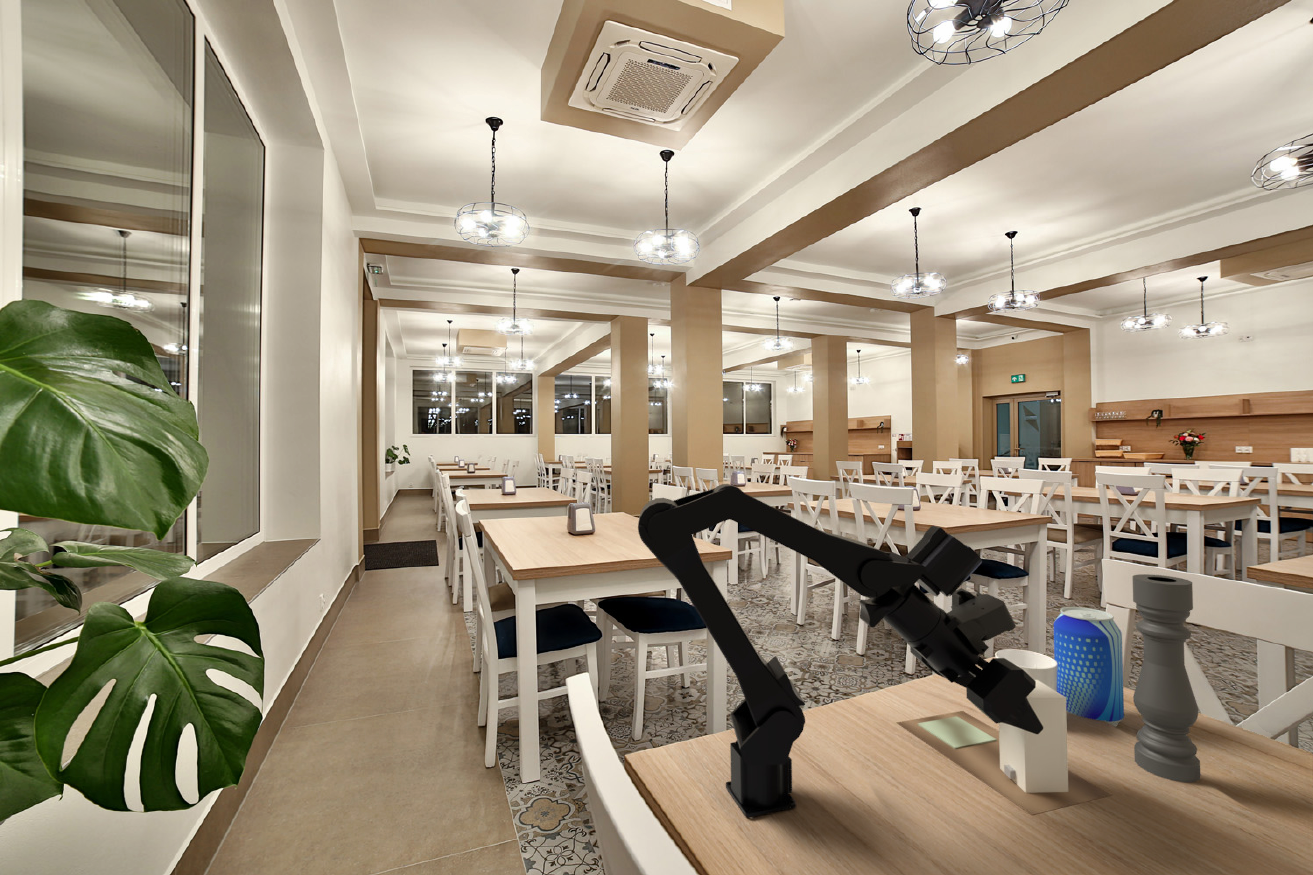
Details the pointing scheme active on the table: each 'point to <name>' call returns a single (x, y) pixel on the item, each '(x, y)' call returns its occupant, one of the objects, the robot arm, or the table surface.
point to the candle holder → (1165, 679)
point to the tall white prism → (1038, 745)
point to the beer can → (1089, 663)
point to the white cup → (1033, 665)
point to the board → (992, 761)
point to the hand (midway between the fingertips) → (1014, 711)
